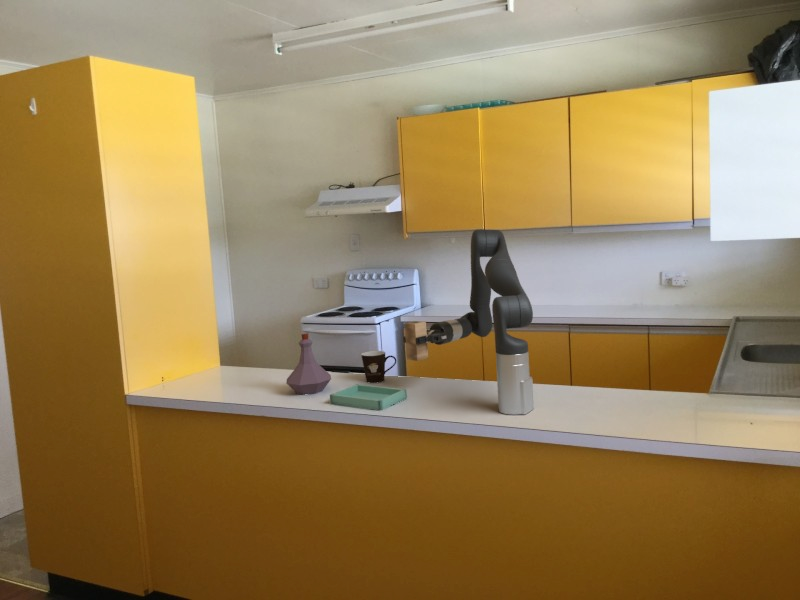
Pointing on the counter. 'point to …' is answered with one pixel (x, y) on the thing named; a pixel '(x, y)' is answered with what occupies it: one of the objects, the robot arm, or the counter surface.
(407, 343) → the tan wooden tall block
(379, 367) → the coffee mug
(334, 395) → the green tray
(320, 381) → the flask
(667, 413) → the counter surface
